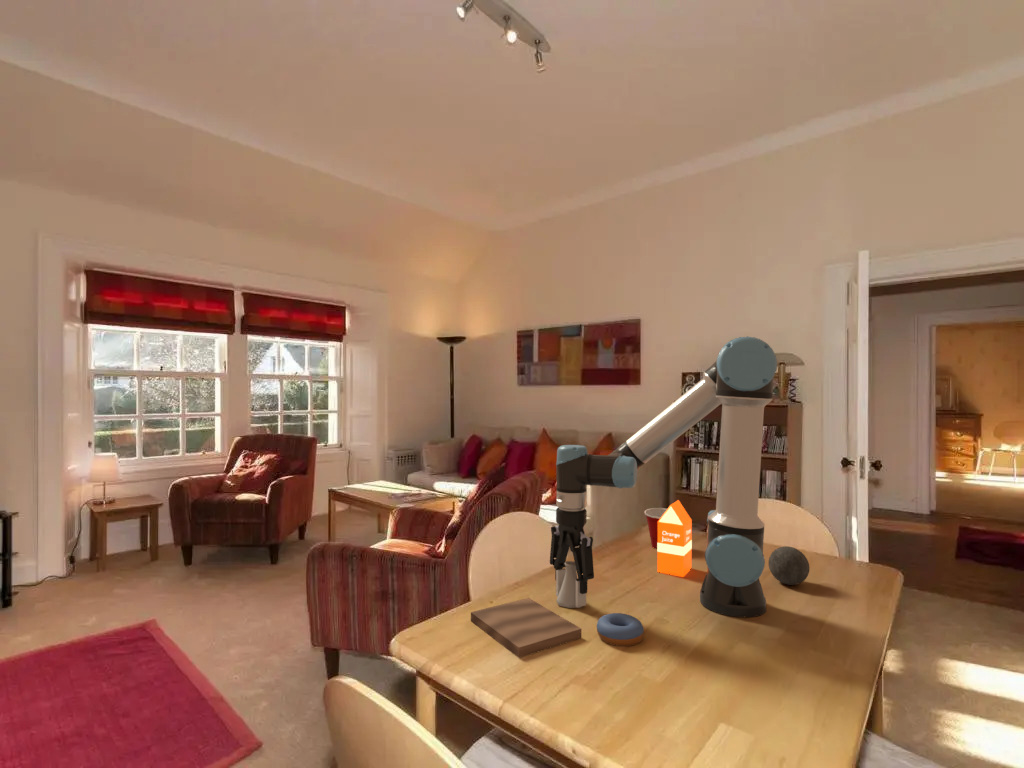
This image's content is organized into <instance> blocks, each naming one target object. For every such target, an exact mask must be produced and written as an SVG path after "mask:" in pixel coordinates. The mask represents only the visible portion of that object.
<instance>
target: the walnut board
mask: <svg viewBox="0 0 1024 768" xmlns="http://www.w3.org/2000/svg"><path fill="white" fill-rule="evenodd" d="M470 622H471V623H473V624H474V625H475V626H476V627H478V628H480V629H481V630H482V631H483V632H484V633H486V634H487V635H488V636H490V637H491V638H492V639H493V640H495V641H497V642H498V644H501V645H502V647H504V648H505V649H506V650H508V651H509V652H511V654H513V655H514V656H516V657H517V658H519V659H520V658H522V657H525V656H529V655H531V654H534V653H538V651H539V652H541V650H542V651H545V650H548V649H551V648H554V646H555V647H557V645H558V646H561V645H564V644H567V643H570V642H573V640H574V641H577V640H579V638H580V639H582V628H581V627H579V626H578V625H577V624H575V623H572V622H571V621H569V620H567V619H566V618H564V617H562V616H560V615H559V614H557V613H556V612H554V611H552V610H550V609H549V608H547V607H546V606H544V605H541V604H540V603H539V602H537V601H534V600H533V599H531V598H530V597H526V598H522V599H519V600H515V601H510V602H506V603H501V604H498V605H494V606H490V607H486V608H483V609H482V608H481V609H478V610H474V611H471V612H470ZM576 639H577V640H576ZM566 642H567V643H566ZM563 643H564V644H563ZM560 644H561V645H560ZM550 647H551V648H550ZM544 649H545V650H544Z"/></svg>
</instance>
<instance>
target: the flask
mask: <svg viewBox="0 0 1024 768" xmlns="http://www.w3.org/2000/svg"><path fill="white" fill-rule="evenodd" d="M565 566H566V567H565V569H566V572H565V577H564V581H563V584H562V587H561V590H560V592H559V595H558V597H557V598H556V600H555V601H556V603H557V605H558V606H559V607H563V608H568V609H575V608H576V609H577V607H576V579H578V575H577V571H576V566H575V561H573V560H566V562H565ZM578 608H583V606H581V607H578Z"/></svg>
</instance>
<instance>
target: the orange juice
mask: <svg viewBox="0 0 1024 768" xmlns="http://www.w3.org/2000/svg"><path fill="white" fill-rule="evenodd" d="M666 509H667V510H666V512H665V513H664V514H663V515H662V517H661V518H660V519H659V521H658V543H657V549H656V550H657V551H656V552H657V558H656V559H657V565H656V566H657V571H656V572H657V573H659V572H660V573H659V574H664V575H669V574H670V575H671V576H676V577H679V578H680V577H681V578H684V577H685V576H686V575H687V574H688V573H689V572H690V571H691V570H692V569H691V568H692V563H693V562H692V561H693V559H692V555H693V553H692V550H693V549H692V548H693V547H692V546H693V540H692V539H693V537H692V536H693V534H692V532H693V531H692V529H693V526H692V525H693V523H692V521H693V519H692V518H691V517H690V515H689V514H688V512H687V511H686V508H684V506H683V505H682V503H681V501H680V500H679V499H677V500H676V501H675V502H673V503H671V504H670V505H669V506H668V508H666ZM690 569H691V570H690Z"/></svg>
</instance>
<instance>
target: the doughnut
mask: <svg viewBox="0 0 1024 768" xmlns="http://www.w3.org/2000/svg"><path fill="white" fill-rule="evenodd" d="M596 631H597V635H598V636H599V638H600V639H601V640H602V641H604V642H606V643H608V644H609V645H613V646H618V647H631V646H634V645H637V644H639V643H640V642H641V641H643V638H644V634H645V629H644V626H643V624H642V622H641V621H640V620H639V619H638V618H637V617H635V616H633V615H630V614H627V613H621V612H613V613H607V614H604V615H602V616H601V617H600V618H598V620H597V622H596Z"/></svg>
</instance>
